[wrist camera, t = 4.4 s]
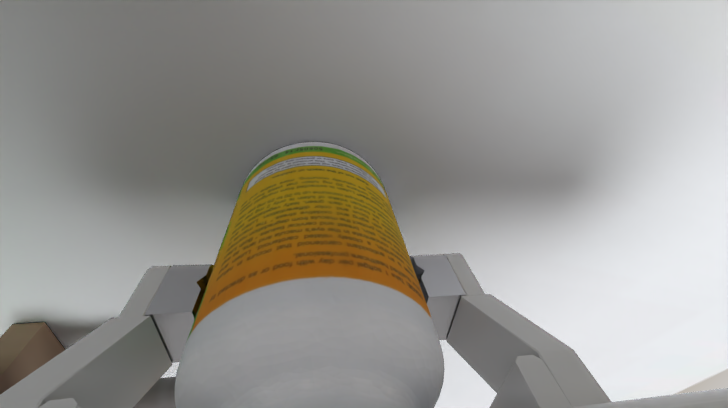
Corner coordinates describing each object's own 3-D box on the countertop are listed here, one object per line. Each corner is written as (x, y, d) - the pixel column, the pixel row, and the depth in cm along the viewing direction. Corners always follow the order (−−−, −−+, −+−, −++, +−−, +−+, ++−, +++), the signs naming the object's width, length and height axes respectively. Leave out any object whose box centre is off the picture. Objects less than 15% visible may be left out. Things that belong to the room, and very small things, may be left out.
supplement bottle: (214, 158, 11) (-76, 648, 3) (370, 120, 11) (541, 498, 3) (271, 269, 14) (215, 658, 6) (394, 240, 14) (508, 587, 6)
